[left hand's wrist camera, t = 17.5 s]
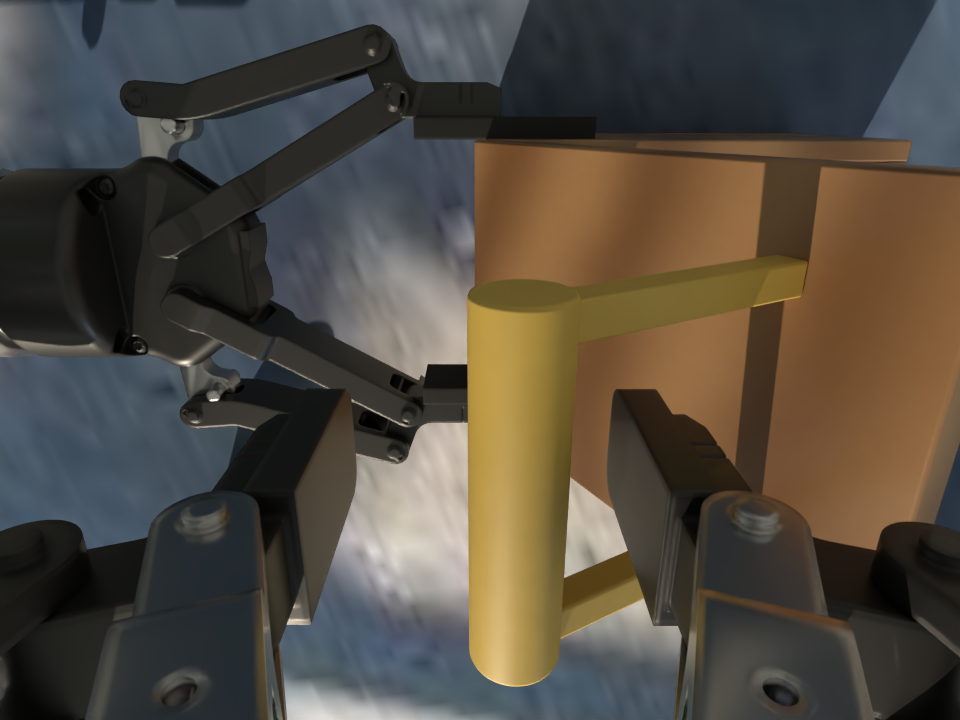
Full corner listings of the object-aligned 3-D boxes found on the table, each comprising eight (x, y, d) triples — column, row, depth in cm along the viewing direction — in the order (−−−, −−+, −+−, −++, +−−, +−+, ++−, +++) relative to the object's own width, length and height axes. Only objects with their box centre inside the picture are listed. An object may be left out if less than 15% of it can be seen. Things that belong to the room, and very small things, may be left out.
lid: (1047, 172, 9) (649, 209, 6) (887, 677, 13) (582, 904, 9) (497, 139, 22) (261, 144, 18) (494, 401, 25) (297, 449, 21)
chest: (792, 133, 30) (913, 139, 22) (759, 327, 34) (852, 398, 25) (483, 132, 30) (485, 139, 22) (482, 327, 34) (484, 397, 25)
